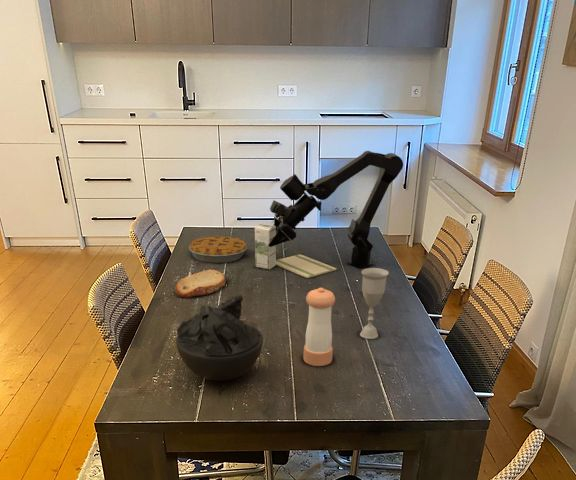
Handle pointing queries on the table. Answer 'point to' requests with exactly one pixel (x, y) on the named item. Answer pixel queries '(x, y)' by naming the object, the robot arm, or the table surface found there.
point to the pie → (218, 249)
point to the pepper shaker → (319, 328)
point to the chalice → (372, 296)
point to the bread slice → (200, 284)
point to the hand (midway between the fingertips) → (268, 242)
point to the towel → (304, 266)
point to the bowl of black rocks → (219, 342)
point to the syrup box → (264, 246)
